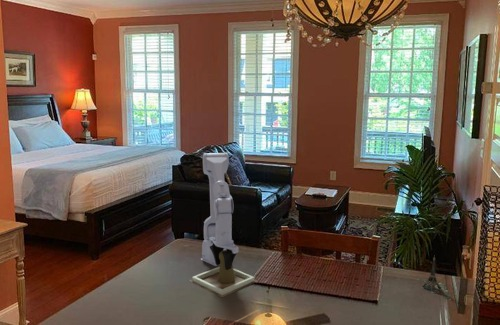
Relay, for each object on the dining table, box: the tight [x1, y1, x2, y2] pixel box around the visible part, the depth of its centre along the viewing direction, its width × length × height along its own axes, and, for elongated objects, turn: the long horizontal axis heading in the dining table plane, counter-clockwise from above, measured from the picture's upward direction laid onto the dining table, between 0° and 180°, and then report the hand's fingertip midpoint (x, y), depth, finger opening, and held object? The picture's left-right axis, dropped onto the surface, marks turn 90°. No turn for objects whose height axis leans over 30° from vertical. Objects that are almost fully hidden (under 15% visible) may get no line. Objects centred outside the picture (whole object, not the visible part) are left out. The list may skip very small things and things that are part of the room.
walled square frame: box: [191, 266, 256, 295], centre depth 169 cm, size 16×16×2 cm
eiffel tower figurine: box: [416, 254, 452, 301], centre depth 165 cm, size 15×10×13 cm
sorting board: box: [188, 272, 259, 298], centre depth 169 cm, size 18×18×1 cm
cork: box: [218, 249, 235, 283], centre depth 169 cm, size 6×6×11 cm
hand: (223, 266), depth 168 cm, fingers closed on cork, 5 cm apart
